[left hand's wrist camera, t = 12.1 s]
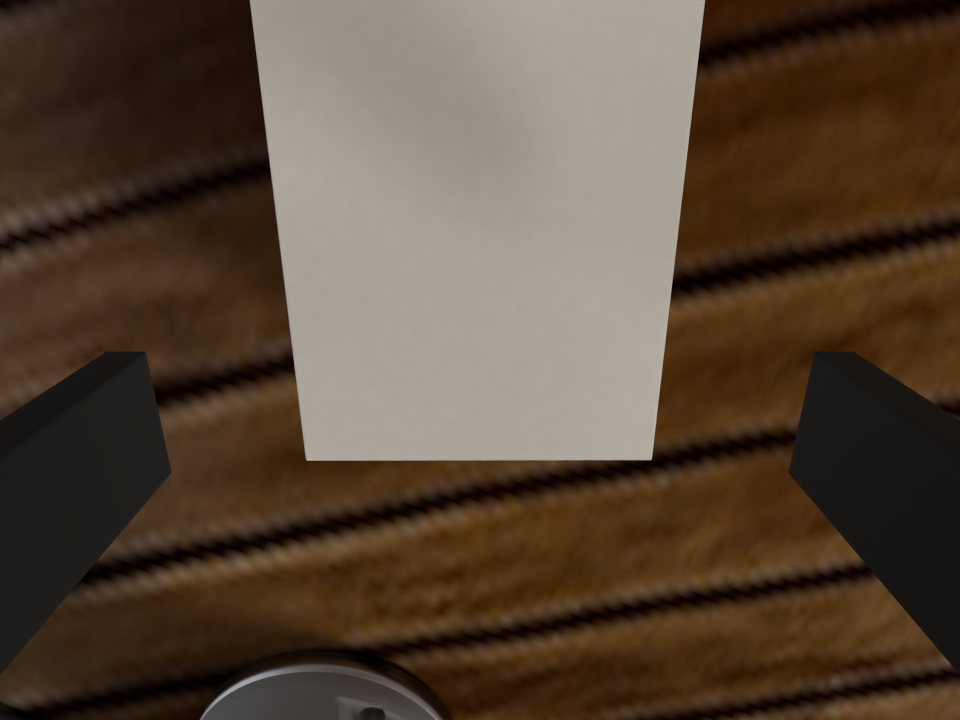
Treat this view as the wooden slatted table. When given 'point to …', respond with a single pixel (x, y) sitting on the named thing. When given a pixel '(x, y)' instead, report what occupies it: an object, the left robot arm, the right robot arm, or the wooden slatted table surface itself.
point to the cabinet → (478, 219)
